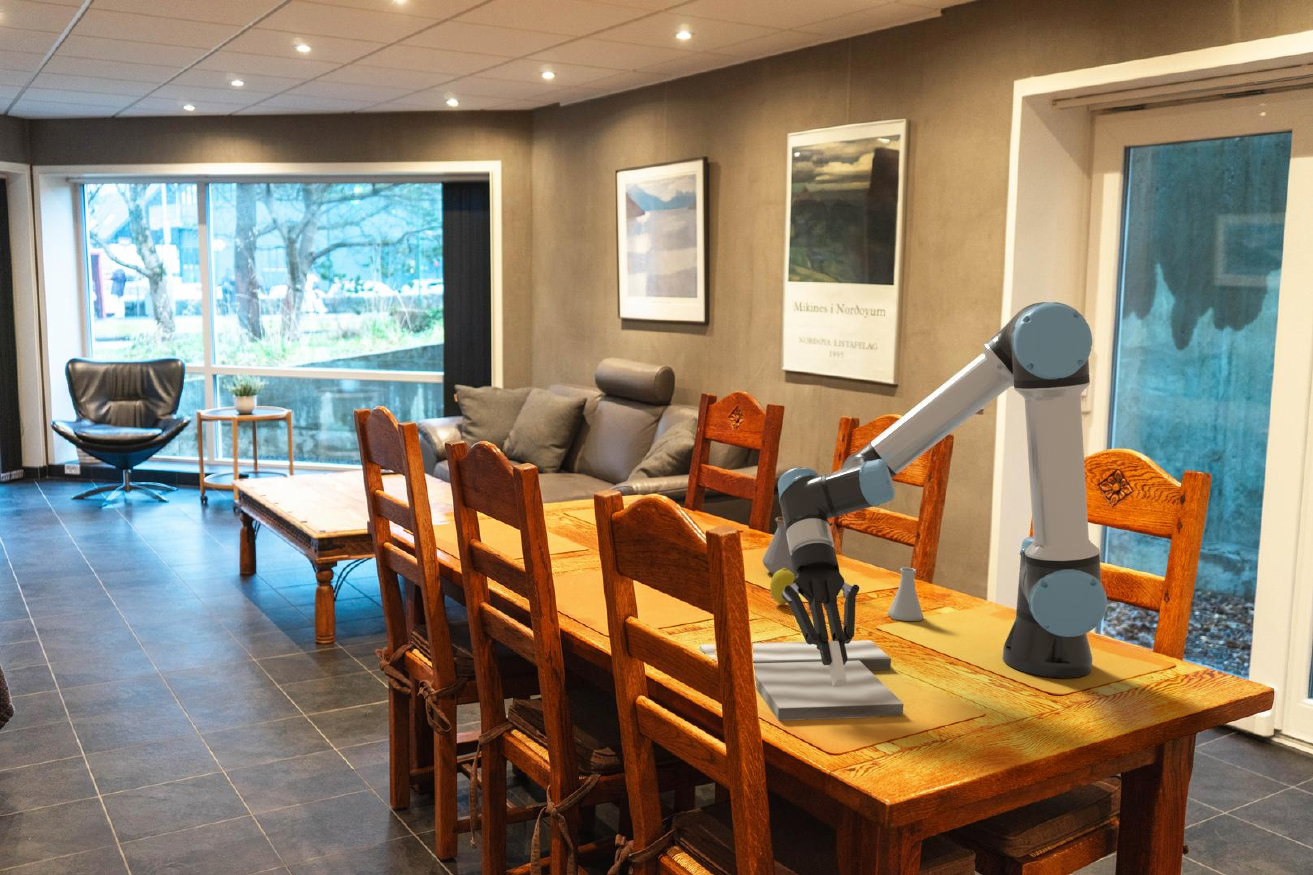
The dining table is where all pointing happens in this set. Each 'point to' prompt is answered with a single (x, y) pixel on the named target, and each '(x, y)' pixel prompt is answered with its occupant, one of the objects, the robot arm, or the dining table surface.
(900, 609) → the flask
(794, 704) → the panel
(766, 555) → the coffee pot
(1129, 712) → the dining table surface
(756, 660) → the board
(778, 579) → the lemon
